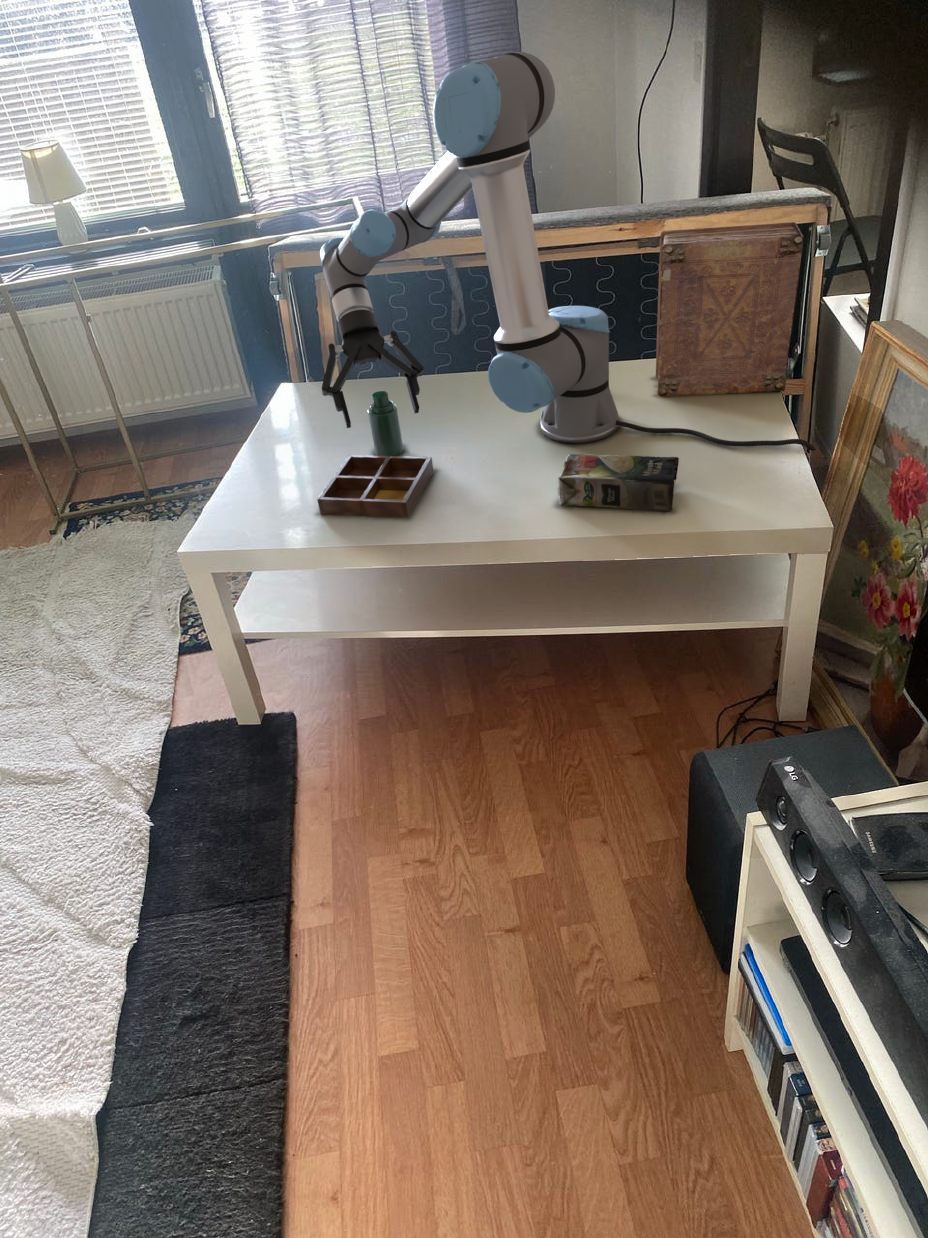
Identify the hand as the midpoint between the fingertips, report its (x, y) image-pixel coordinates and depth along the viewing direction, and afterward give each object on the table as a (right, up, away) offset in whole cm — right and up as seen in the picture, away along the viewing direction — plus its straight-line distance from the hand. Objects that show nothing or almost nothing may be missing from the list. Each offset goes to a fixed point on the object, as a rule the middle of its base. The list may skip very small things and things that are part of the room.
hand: (383, 418), depth 175 cm
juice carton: (+42, -18, -19) cm, 49 cm away
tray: (0, -16, -9) cm, 18 cm away
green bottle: (+1, -6, +4) cm, 7 cm away
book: (+68, +10, +12) cm, 70 cm away
